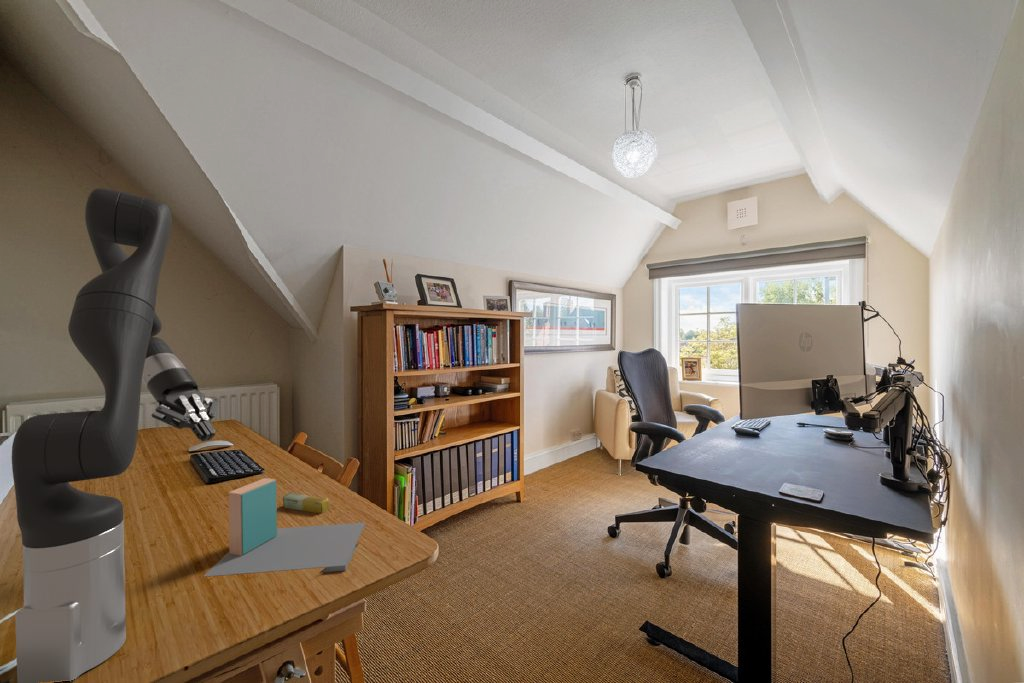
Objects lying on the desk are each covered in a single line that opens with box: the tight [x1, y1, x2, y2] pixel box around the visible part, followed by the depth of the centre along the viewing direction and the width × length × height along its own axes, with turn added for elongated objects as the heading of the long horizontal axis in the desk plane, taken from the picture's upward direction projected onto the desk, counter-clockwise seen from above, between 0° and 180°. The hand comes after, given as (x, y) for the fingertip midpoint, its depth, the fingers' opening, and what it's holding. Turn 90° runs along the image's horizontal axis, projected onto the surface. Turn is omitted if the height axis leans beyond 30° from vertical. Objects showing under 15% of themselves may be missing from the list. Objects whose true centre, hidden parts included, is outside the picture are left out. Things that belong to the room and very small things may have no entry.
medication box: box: [282, 492, 330, 514], centre depth 98 cm, size 12×3×4 cm, turn 73°
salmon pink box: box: [228, 477, 278, 556], centre depth 81 cm, size 3×8×12 cm, turn 163°
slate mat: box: [202, 522, 367, 578], centre depth 81 cm, size 17×24×1 cm
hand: (209, 437), depth 85 cm, fingers closed
